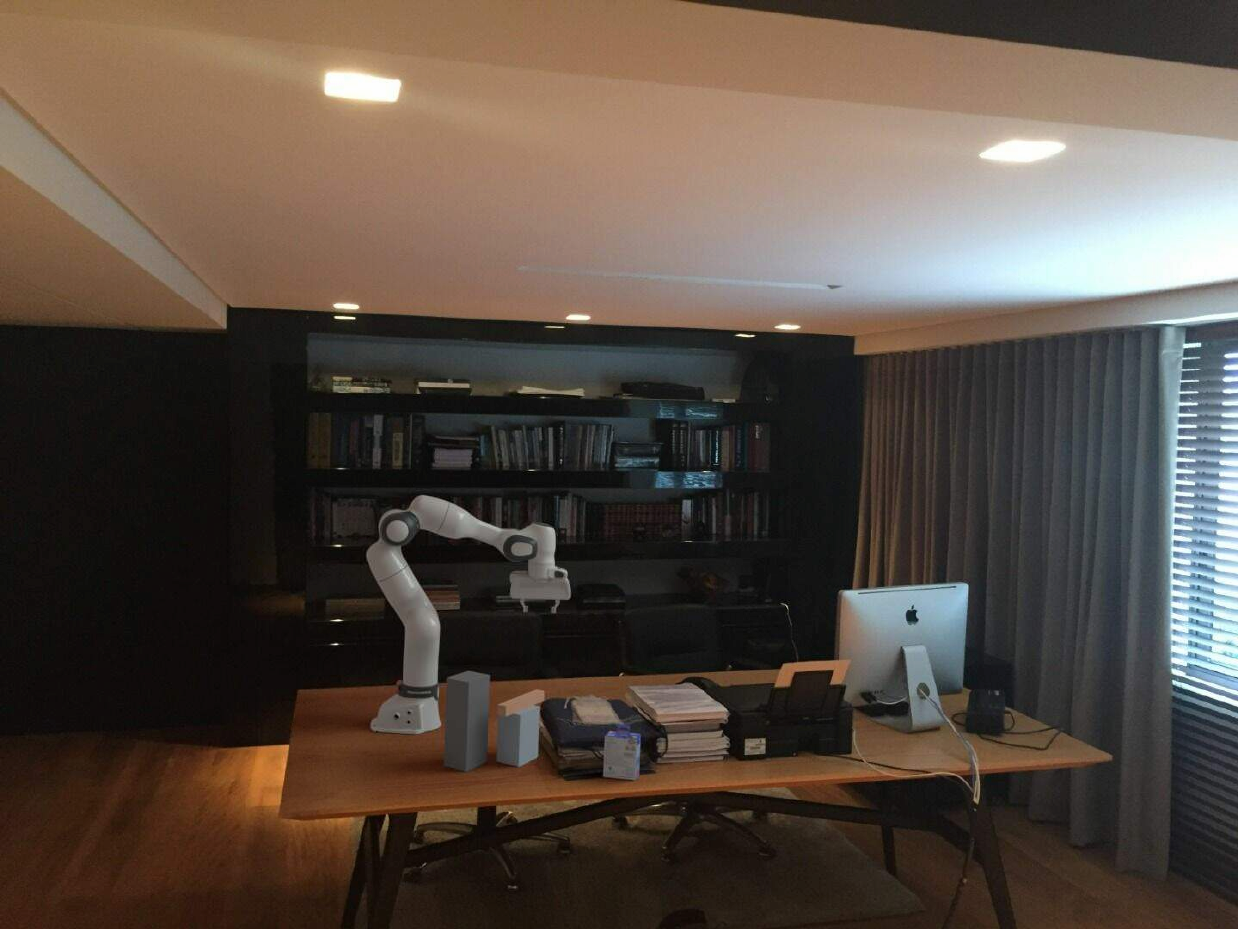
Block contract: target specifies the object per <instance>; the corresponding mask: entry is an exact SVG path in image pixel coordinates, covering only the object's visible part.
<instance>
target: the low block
mask: <svg viewBox="0 0 1238 929" xmlns="http://www.w3.org/2000/svg"><path fill="white" fill-rule="evenodd" d="M540 709H541V707H540V706H539V705H533V706H530V707H528V708H525V709H523V710H521V711H518V712H516V713H513V714H511V715H509V716H506V717H505V716H501V715H497V737H496V738H497V739H496V740H497V741H496V743H497V744H496V745H497V746H496V763H497V762H498V763H501V764H506V765H508V766H512V767H517V768H520V767H522V766H523V765H526V764H528V763H529V761H530V762H531V760H532V761H534V760H536V759H537V757H538V758H539V742H540V741H539V737H540V734H539V733H540V717H541V716H540V714H541V710H540Z"/></svg>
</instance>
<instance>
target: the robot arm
mask: <svg viewBox="0 0 1238 929" xmlns="http://www.w3.org/2000/svg"><path fill="white" fill-rule="evenodd" d="M419 530H426V531H429V532H432V533H433V534H436V535H439V536H442V537H445V538H450V539H454V540H458V539H463V538H471V539H475V540H477V541H481V542H483V543H486V544H488V545H491V546H494V547H495V548H496V549H497V550H498V551H499V552H500V553H501V554H502V555H503V556H504V557H505V559H507V560H509V561H510V562H515V563H519V562H525V561H528V563H527V568H528V569H527V570H514V571H512V572H510V574H509V582H510V584H511V585H510V591H509V596H510V598H511V599H515V600H516V599H517V600H518V599H520V600H519V601H520V604H521V606H522V608H523V609H522V610H523V611H522V612H523V613H528V611H529V610H528V608H529V606H528V605H525V600H553V601H554V600H555V605H554V606H551V612H550V613H551V614H556V613H557V608H558V606H559V605H560V603H561V602H560V601H563V600H564V601H568V600H570V599H571V586H570V580H569V579H568V570H566V569H565V568H562V567H559V566H556V563H555V562H556V561H555V560H556V559H555V552H556V540H557V539H556V532H555V529H554V527H553V526H552V525H550V524H547V523H544V522H540V521H539V522H538V521H535V522H532V523H531V524H530V525H528V526H526V527H524V528H522V529H520V528H517V527H516V528H515V527H507V528H506V527H505V528H504V527H503V528H502V527H499V526H495V525H493V524H490V523H487V522H486V521H483V520H479V519H478V518H476V516H473V515H472V514H471V513H470V512H468V511H467V510H465V509H464V508H463V507H460V506H458V505H457V504H455V503H452V502H450V501H447V500H445V499H441V498H438V497H434V496H429V495H424V494H421V495H418V496H416V497H415V498H414V499H413V500H412V501H411V503H410V505H409V507H408V508H407V509H405V510H403V509H400V508H391V509H389V510H386V511H385V512H384V513H383V514H382V515H381V517H380V519H379V523H378V540H377V541H376V542H374V543H373V544H372V545H370V546H369V547H368V549H367V551H366V555H365V556H366V561H367V562H368V566H369V569H370V571H371V573H372V576H373V577H374V579H375V580H376V582H377V584H378V586H379V587H380V589H381V591H382V593H383V594H384V597H385V598H386V599H387V602H388V603H389V604H390V605H391V607H392V608H393V610H394V611H395V612H396V614H397V616H398V617H399V619H400V620H401V622H402V624H403V626H404V646H403V647H404V648H403V649H404V651H403V670H402V672H403V674H402V677H403V678H402V680H401V679H399V680H398V681H397V682H396V692H395V694H394V695H392V696H391V697H389V699H387V700H385V701H384V702H383V703H382V704H381V705H380V707H379V709H378V713H377V716H376V717H374V718H373V719H371V722H370V730H371V731H372V732H376V731H378V733H390V734H391V733H393V734H406V735H419V734H420V735H421V734H423V733H425V732H430V731H435V730H436V729H439V728H440V727H441V726H442V722H441V718H440V713H439V703H438V701H439V699H440V698H439V697H440V695H439V694H440V685H439V684H440V683H439V681H438V679H439V678H438V676H439V674H438V673H439V672H438V671H439V654H440V638H441V622H440V618H439V615H438V614H439V613H438V612H437V610H436V608H435V607H434V606H433V604H432V602H431V600H430V599H429V597H428V596H427V594H426V593H425V591H424V589H423V588H422V586H421V584H420V582H419V581H418V580H417V578H416V576H415V575H414V573H413V571H412V569H411V568H410V566H409V564H408V562H407V561H406V558H404V555H403V553H402V546H405V545H407V544H408V543H410V542H411V540H412V539H413V538H414V536H416V534H417V533H418V532H419Z"/></svg>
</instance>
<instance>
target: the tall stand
mask: <svg viewBox="0 0 1238 929" xmlns="http://www.w3.org/2000/svg"><path fill="white" fill-rule="evenodd" d="M490 686H491V675H490V674H486V673H480V672H476V671H472V670H467V671H464V672H460V673H458V674H455V675H451V676H448V677H446V690H445V691H446V695H445V720H444V721H445V723H444V727H445V728H444V729H445V730H444V749H443V750H444V753H443V754H444V757H443V767H446V768H449V767H450V768H451V769H453V768H454V769H453V770H457V771H461V772H464V773H466V772H469V771H471V770H472V769H475V768H477V767H479V766H481V765H483V764H486V763H488V746H489V745H488V743H489V742H488V741H489V740H488V738H489V716H490V715H489V712H490Z"/></svg>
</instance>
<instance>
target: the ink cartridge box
mask: <svg viewBox="0 0 1238 929" xmlns="http://www.w3.org/2000/svg"><path fill="white" fill-rule="evenodd" d="M621 728H625V729H626V730H625V729H624V730H623V729H621ZM616 729H617V730H616V731H611V730H609V731H607V733H606V735H604V744H603V745H604V746H603V747H604V748H603V751H604V752H603V768H602V769H603V770H602V771H603V772H602V777H603V778H613V779H619V780H627V781H628V780H629V781H636V780H637V779H638V777H639V776H640V762H641V761H640V758H641V757H640V756H641V736H642V735H641V733H634V732H630V731H631V725H625V724H618V725H617V728H616Z"/></svg>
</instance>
